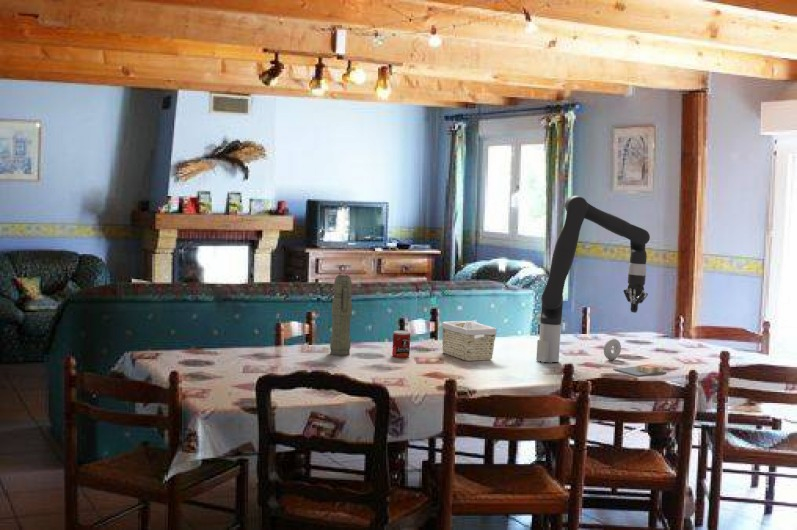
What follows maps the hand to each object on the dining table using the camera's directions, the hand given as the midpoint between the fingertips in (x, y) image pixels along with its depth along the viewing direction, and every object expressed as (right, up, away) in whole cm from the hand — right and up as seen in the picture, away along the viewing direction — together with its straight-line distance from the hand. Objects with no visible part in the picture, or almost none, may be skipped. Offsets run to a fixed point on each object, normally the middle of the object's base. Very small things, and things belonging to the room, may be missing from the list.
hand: (633, 312), depth 441 cm
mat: (0, -25, -10) cm, 27 cm away
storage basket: (-74, -21, +7) cm, 77 cm away
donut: (-7, -23, +15) cm, 28 cm away
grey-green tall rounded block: (-131, -19, -2) cm, 132 cm away
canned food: (-104, -20, -1) cm, 106 cm away
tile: (+2, -24, -9) cm, 25 cm away
